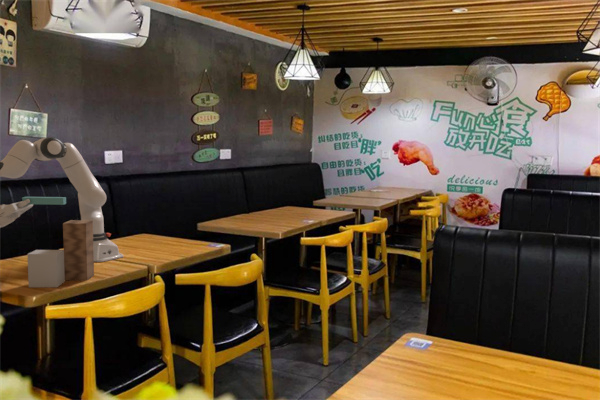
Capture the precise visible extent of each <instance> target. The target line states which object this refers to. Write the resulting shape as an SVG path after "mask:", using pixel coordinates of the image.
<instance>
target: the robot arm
mask: <svg viewBox="0 0 600 400" xmlns="http://www.w3.org/2000/svg"><path fill="white" fill-rule="evenodd" d="M52 160H56V161H57V162H58V163H59V165H60V167H61V168H62V170H63V172H64V173H65V176H66V177H67V178H68V179H69V182H70V183H71V185H72V186H73V187H74V188H75V190H76V191H77V198H78V207H79V214H80V220H93V252H94V263H95V262H97V263H101V262H107V261H112V260H117V259H120V258H124V254H123V253H121V252H120V250H119V246H118V245H117V244H116V243H114V242H113V241H112V240H110V239H109V238H110V237H111V235H112V234H111V233H110V232H105V228H104V227H105V224H104V215H103V211H102V207H103V206H104V205H105V203H106V202H107V194H106V192H105V191H104V189H103V188H102V186H101V185H100V182H98V180H97V179H96V177H95V176H94V174H93V173H92V172H91V170H90V168H89V166H88V164H87V163H86V161H85V160H84V158H83V156H82V154H81V153H80V152H79V150H78V149H77V148H76V146H75V145H74V144H73V143H71V142H62V141H61V140H60V139H58V138H56V137H53V136H47V137H42V138H40V139H38V140H35V141H30V140H26V139H20V140H18V141H17V142H16V143H14V145H13V146H12V147H11V148H10V149H9V151H8V152H7V154H6V155H5V157H3V159H2V160H0V177H1V178H8V179H18V178H21V177H23V176H24V175H25V174H26V173H27V171H28V169H29V168H30V166H31V164H32V162H34V161H38V162H47V161H48V162H49V161H52ZM30 202H31V200H30V199H26V200H25V201H18V202H13V203H10V204H3V203H2V204H0V229H1V228H4V227H6V226H8V225H9V224H11V223H13V222H14V221H16V219H18V218H20V217H21V215H22V214H24V213H25V212H26V211H29V210H30V209H31V208H33V206H34V204H28V203H30Z"/></svg>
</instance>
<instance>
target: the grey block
mask: <svg viewBox="0 0 600 400" xmlns="http://www.w3.org/2000/svg"><path fill="white" fill-rule="evenodd" d="M26 255H27V274H28V275H27V276H28V277H27V278H28V279H27V280H28V283H27V284H28V288H59V287H60V286H61V285H62V283H63V284H64V283H65V282H66V281H65V271H64V249H35V250H33V251H30V252H28V253H27V254H26Z"/></svg>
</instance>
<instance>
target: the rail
mask: <svg viewBox="0 0 600 400" xmlns="http://www.w3.org/2000/svg"><path fill="white" fill-rule="evenodd" d="M21 199H22V201H25V200H26V199H30V200H31V202H30V203H28V204H33V205H58V206H59V205H66V204H67V197H66V196H64V197H62V196H24V197H21Z"/></svg>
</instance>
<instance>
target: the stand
mask: <svg viewBox="0 0 600 400" xmlns="http://www.w3.org/2000/svg"><path fill="white" fill-rule="evenodd" d="M62 237H63V239H62V240H63V250H64V271H65V280H66V281H68V280H69V281H71V282H72V281H75V282H76V281H89V280H90V279H91V278H92V277H94V276H95V262H94V252H93V220H81V219H79V220H78V219H74V220H73V219H70V220H68V221H65V222H63V223H62ZM66 281H65V282H66Z"/></svg>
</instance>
